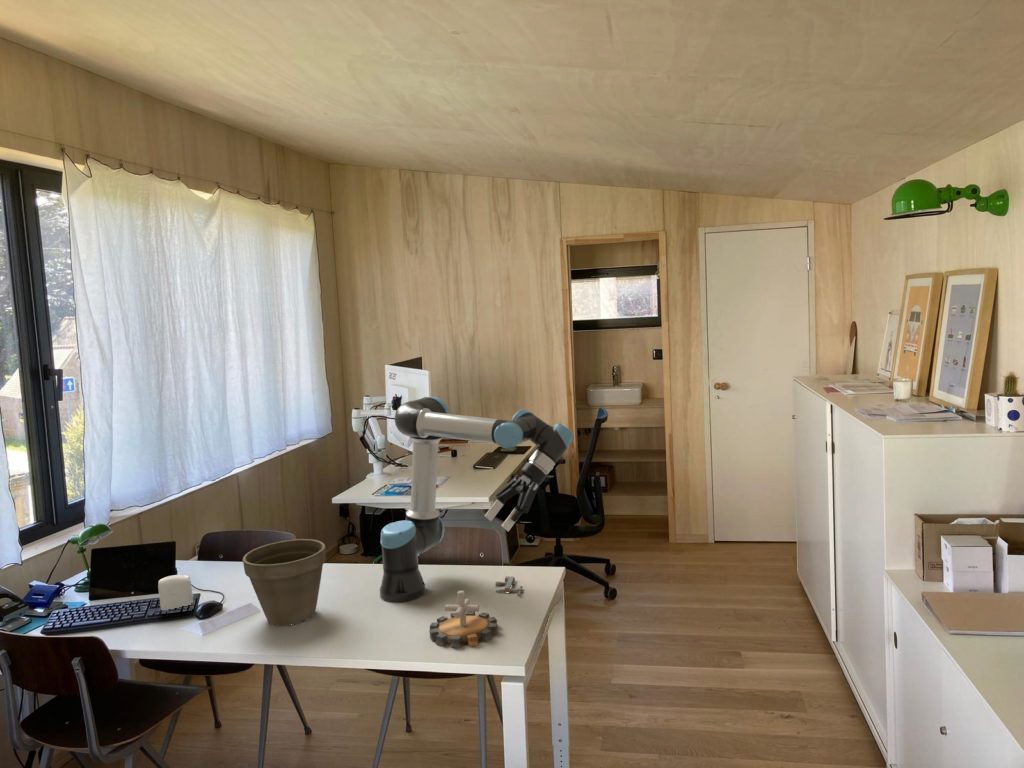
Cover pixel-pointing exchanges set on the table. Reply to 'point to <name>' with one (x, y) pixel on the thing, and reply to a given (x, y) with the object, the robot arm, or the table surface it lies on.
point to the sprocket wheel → (463, 630)
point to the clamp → (508, 585)
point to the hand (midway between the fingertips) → (495, 523)
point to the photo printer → (175, 592)
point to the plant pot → (286, 578)
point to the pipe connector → (462, 608)
